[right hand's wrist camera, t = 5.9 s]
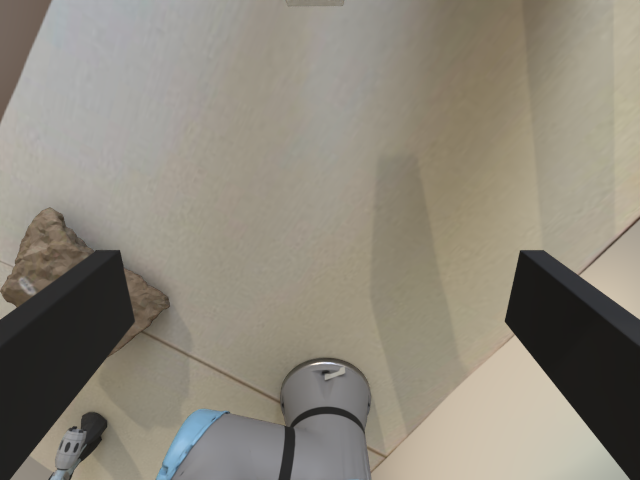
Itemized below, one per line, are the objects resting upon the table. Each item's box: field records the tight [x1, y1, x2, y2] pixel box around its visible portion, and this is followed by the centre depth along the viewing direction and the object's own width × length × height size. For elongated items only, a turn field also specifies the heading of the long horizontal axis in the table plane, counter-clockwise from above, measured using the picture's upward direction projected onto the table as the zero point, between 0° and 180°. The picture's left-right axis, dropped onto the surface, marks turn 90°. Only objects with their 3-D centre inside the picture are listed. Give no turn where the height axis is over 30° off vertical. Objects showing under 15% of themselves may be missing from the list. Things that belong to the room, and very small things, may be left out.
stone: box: [0, 208, 170, 357], centre depth 54 cm, size 21×15×6 cm
